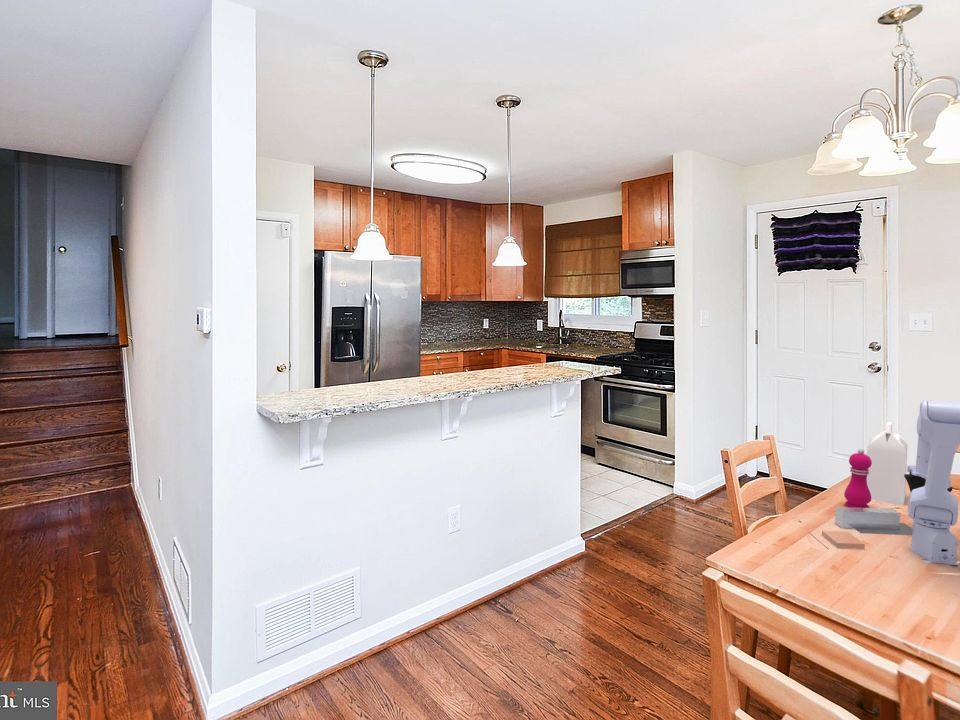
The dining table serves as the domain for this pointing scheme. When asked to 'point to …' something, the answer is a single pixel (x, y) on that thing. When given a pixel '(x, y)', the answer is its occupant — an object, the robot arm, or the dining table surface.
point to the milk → (887, 467)
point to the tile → (843, 540)
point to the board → (889, 530)
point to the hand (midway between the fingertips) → (925, 504)
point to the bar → (867, 518)
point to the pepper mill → (858, 481)
